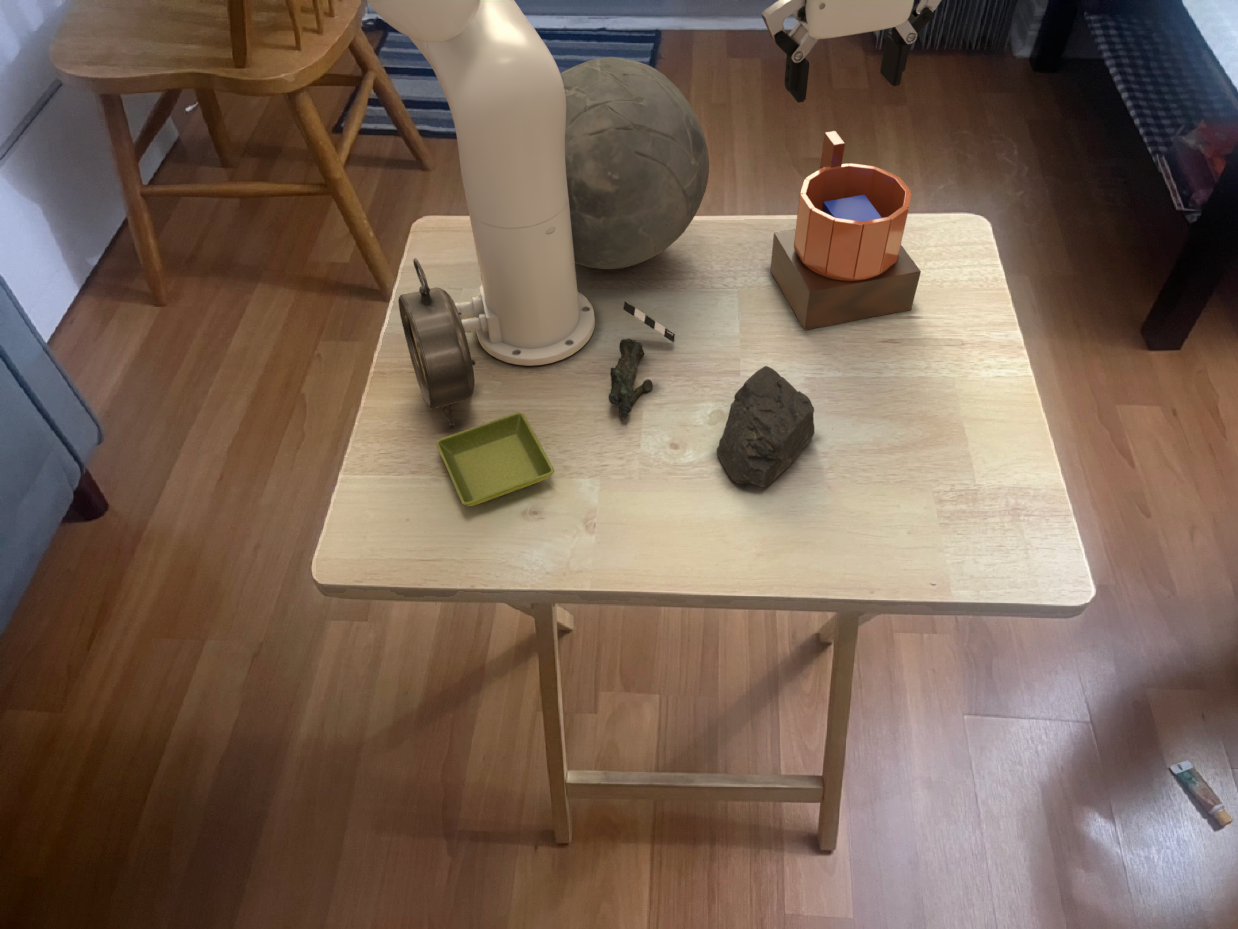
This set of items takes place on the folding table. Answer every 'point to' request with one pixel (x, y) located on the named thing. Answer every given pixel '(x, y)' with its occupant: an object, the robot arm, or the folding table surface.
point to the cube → (851, 208)
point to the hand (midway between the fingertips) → (843, 87)
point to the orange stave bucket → (848, 242)
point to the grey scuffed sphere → (629, 162)
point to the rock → (765, 428)
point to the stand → (840, 288)
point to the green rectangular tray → (494, 459)
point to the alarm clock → (437, 346)
